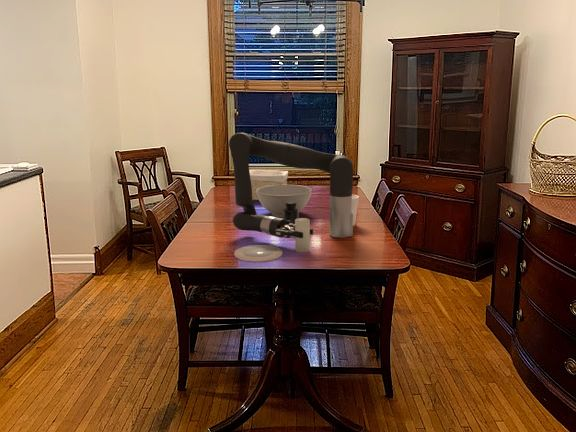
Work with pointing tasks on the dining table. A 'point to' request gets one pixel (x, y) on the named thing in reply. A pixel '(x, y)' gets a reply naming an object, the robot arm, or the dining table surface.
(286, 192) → the decorative bowl
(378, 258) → the dining table surface
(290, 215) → the supplement bottle
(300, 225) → the white tapered cylinder
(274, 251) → the dish
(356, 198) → the foam cup
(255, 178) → the storage basket
